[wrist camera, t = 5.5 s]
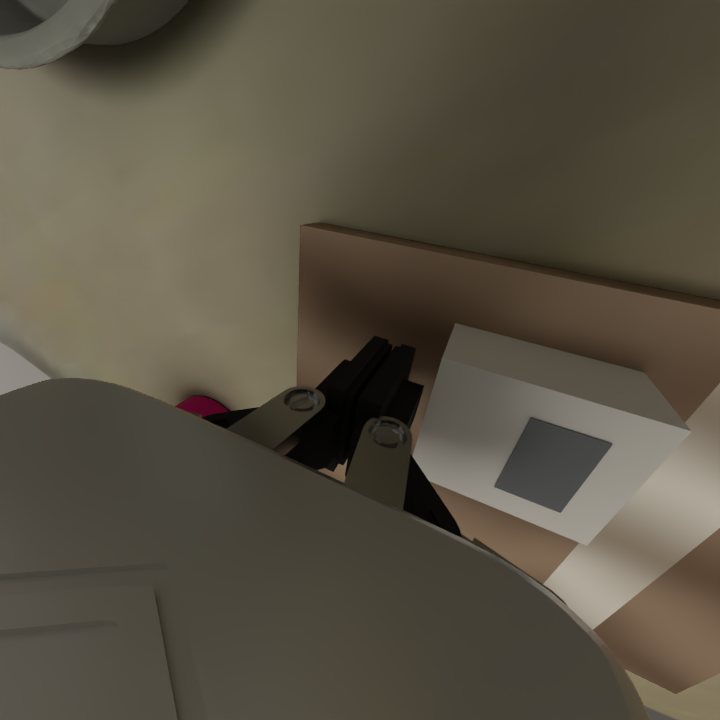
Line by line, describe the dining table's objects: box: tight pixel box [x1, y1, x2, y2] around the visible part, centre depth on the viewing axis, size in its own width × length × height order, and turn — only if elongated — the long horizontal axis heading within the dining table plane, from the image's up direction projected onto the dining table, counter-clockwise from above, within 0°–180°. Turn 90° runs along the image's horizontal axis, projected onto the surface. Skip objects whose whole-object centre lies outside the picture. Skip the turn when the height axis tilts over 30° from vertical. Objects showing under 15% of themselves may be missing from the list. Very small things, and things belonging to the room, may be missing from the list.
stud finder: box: [413, 323, 692, 546], centre depth 11 cm, size 5×6×3 cm
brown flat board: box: [297, 223, 720, 694], centre depth 14 cm, size 18×22×2 cm
